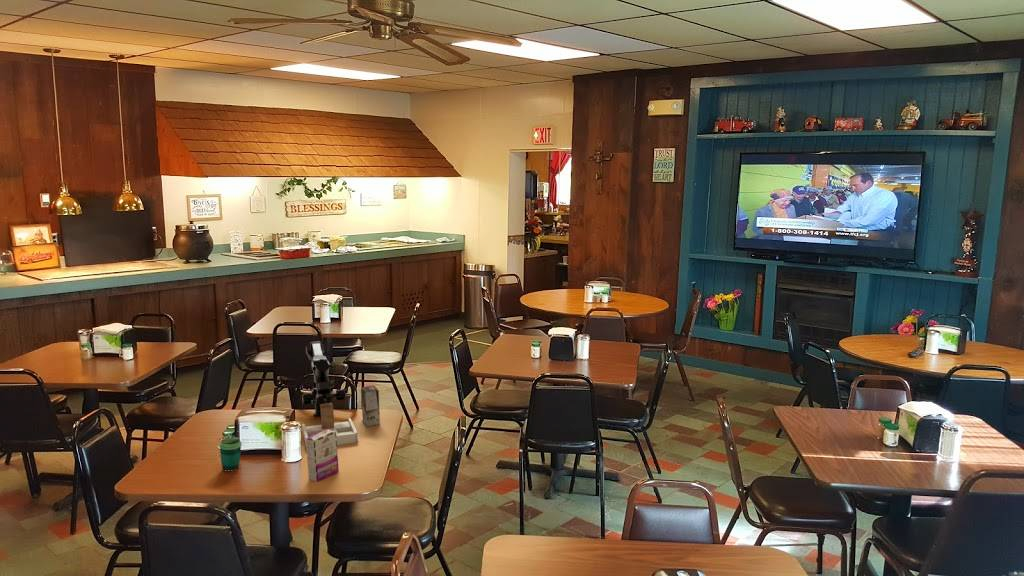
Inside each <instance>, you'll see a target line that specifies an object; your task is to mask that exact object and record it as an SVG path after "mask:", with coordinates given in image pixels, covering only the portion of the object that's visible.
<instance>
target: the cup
mask: <svg viewBox="0 0 1024 576" xmlns="http://www.w3.org/2000/svg"><path fill="white" fill-rule="evenodd" d="M242 444H243V442H242V441H241V440H240V438H239V437H237V436H231V437H225V438H223V439H222V440H221V441H220V442H219V444H218V447H219V452H220V453H219V454H220V461H221V467H222V471H223V470H227V471H228V470H230V471H231V470H235V469H237V470H239V465H240V461H241V453H242V446H243V445H242ZM235 471H236V470H235Z"/></svg>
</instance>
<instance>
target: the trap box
mask: <svg viewBox="0 0 1024 576" xmlns="http://www.w3.org/2000/svg"><path fill="white" fill-rule="evenodd" d="M301 426H302V427H301V429H302V436H303V439H304V444H305V445H306V438H308V437H310V436H313V435H315V434H317V433H320V432H322V431H324V430H327V429H324V430H323V429H322V426H321V424H317V425H310V426H306V425H305V423H302V424H301ZM330 430H333V431H336V440H337V446H339V445H340V446H341V445H346V444H347V445H348V444H349V445H350V444H355V443H358V442H359V438H358V431H357V429H356V427H355V424H354V422H353V420H352V419H351V417H348V418H347V421H341V422H334V428H331V429H330Z"/></svg>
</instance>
